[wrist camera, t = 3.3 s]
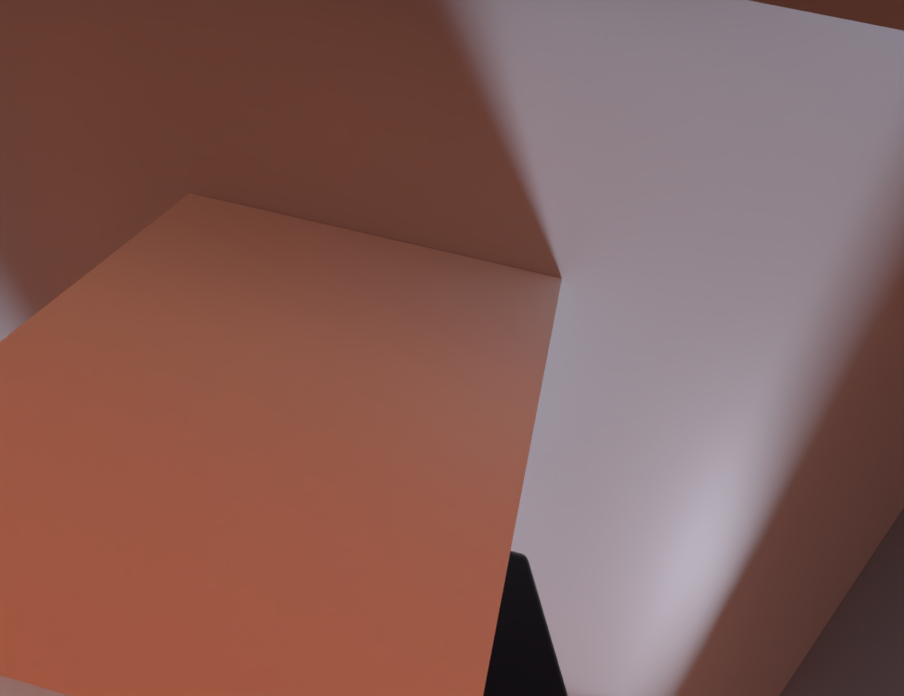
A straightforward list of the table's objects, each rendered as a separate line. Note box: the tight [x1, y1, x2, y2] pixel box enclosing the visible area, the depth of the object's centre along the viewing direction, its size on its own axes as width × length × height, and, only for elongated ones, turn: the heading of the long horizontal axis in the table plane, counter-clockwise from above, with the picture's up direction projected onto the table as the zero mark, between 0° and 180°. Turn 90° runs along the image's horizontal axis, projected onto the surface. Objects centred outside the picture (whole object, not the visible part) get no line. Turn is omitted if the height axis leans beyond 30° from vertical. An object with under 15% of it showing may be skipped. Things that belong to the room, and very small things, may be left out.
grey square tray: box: [0, 0, 904, 696], centre depth 10 cm, size 16×16×3 cm
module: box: [0, 193, 562, 696], centre depth 9 cm, size 4×7×6 cm, turn 173°
